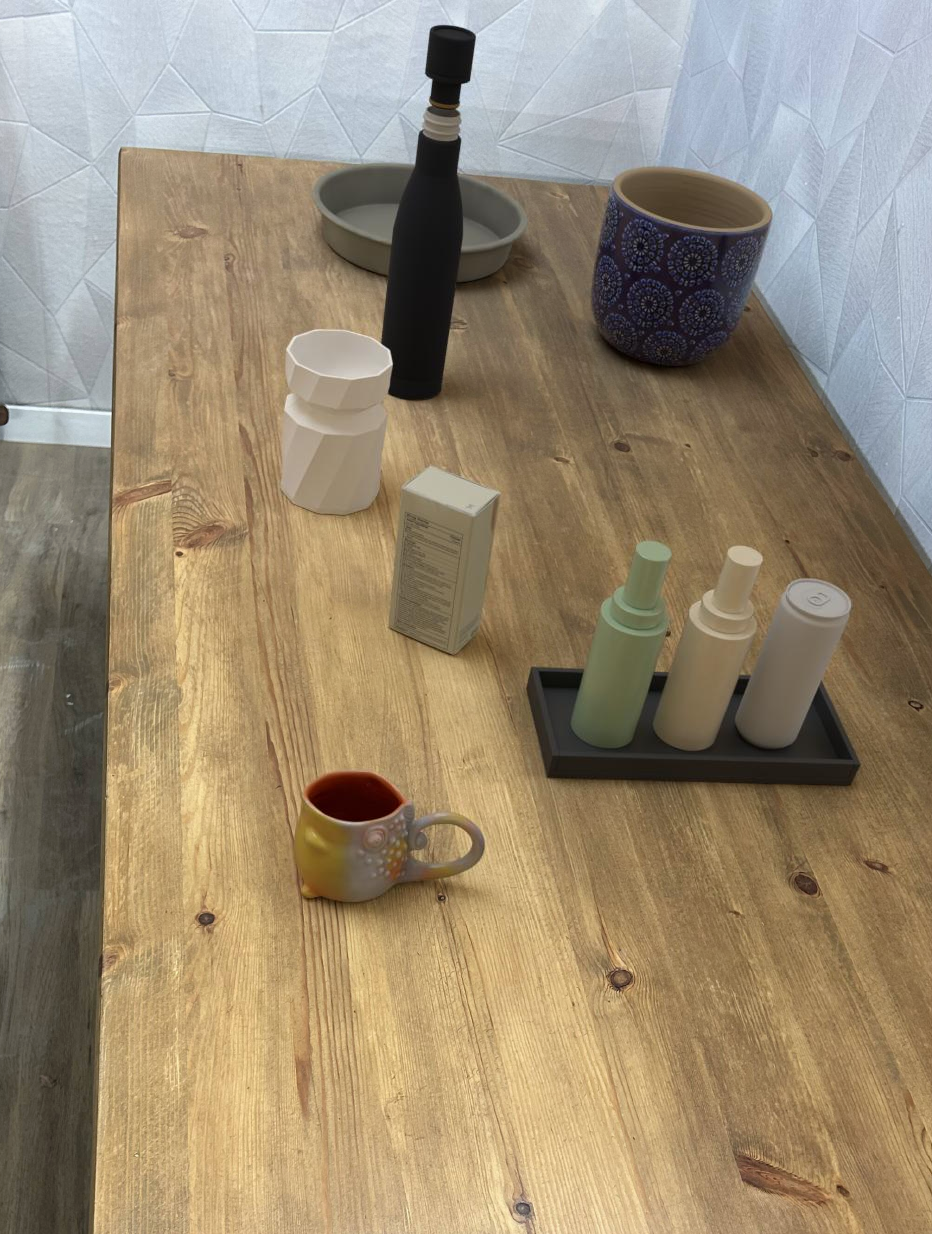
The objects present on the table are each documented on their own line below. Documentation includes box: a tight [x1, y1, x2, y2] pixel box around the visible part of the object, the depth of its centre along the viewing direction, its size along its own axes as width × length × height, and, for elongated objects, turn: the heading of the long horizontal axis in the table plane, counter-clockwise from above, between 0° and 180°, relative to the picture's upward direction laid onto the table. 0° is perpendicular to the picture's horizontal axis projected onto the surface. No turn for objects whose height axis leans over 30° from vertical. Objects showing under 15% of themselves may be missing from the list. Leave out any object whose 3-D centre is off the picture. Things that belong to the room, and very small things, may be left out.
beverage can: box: [735, 577, 852, 749], centre depth 97 cm, size 5×5×12 cm
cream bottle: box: [653, 545, 764, 751], centre depth 95 cm, size 5×5×15 cm
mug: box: [293, 769, 486, 903], centre depth 85 cm, size 12×7×7 cm, turn 84°
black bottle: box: [380, 24, 477, 401], centre depth 121 cm, size 6×6×30 cm
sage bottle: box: [571, 540, 673, 749], centre depth 94 cm, size 5×5×15 cm
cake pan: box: [311, 162, 529, 284], centre depth 154 cm, size 25×25×4 cm
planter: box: [590, 165, 774, 367], centre depth 140 cm, size 16×16×15 cm
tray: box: [525, 666, 862, 786], centre depth 100 cm, size 23×10×2 cm, turn 95°
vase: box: [279, 328, 393, 516], centre depth 113 cm, size 9×9×12 cm
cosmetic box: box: [387, 465, 501, 656], centre depth 101 cm, size 6×4×12 cm
